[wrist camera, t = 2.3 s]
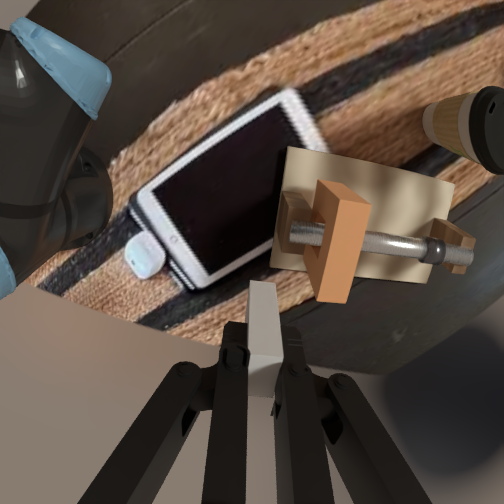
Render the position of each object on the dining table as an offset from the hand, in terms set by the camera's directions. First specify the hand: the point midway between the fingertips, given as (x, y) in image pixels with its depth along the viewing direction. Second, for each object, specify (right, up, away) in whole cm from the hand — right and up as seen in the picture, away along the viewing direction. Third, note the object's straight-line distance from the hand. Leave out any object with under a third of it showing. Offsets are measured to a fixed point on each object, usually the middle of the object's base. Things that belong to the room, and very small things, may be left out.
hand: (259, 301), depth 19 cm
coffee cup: (+26, +21, +16) cm, 37 cm away
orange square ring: (+8, +7, +18) cm, 21 cm away
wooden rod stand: (+15, +7, +22) cm, 28 cm away
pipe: (+15, +4, +15) cm, 22 cm away
